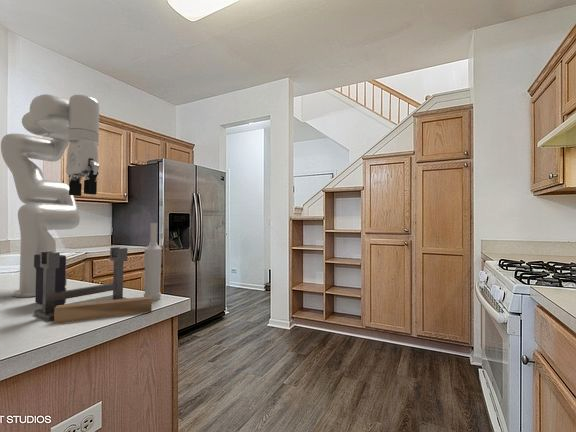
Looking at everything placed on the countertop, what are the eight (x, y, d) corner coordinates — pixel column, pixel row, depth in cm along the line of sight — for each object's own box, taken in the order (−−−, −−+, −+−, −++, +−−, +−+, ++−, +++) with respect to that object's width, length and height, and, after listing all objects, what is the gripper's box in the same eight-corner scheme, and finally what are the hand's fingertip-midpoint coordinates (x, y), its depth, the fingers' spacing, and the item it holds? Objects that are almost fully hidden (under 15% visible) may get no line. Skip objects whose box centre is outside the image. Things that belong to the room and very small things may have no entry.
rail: (56, 321, 76) (57, 305, 76) (150, 309, 87) (151, 296, 87) (54, 324, 74) (54, 308, 74) (151, 312, 84) (151, 298, 84)
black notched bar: (67, 304, 90) (68, 255, 90) (51, 308, 86) (52, 256, 87) (49, 300, 95) (50, 253, 96) (32, 303, 91) (33, 254, 92)
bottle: (154, 301, 94) (155, 223, 95) (139, 300, 95) (141, 222, 96) (164, 297, 100) (165, 223, 100) (150, 296, 101) (151, 222, 101)
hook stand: (34, 314, 80) (35, 251, 81) (114, 298, 98) (115, 246, 98) (48, 321, 75) (50, 254, 75) (131, 303, 93) (132, 248, 93)
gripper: (57, 139, 91) (55, 195, 91) (83, 130, 82) (81, 192, 82) (84, 145, 98) (83, 197, 97) (111, 137, 88) (110, 194, 88)
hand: (82, 194), depth 89 cm, fingers open, 9 cm apart
